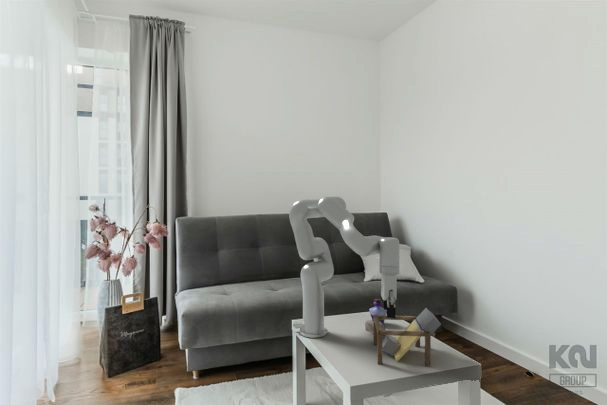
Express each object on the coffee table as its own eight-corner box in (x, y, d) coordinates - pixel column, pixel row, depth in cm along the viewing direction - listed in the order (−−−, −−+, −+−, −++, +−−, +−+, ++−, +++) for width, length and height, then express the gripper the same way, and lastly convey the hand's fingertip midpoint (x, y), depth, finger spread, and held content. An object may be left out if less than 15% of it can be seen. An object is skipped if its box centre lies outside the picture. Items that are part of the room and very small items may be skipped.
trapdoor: (402, 366, 134) (395, 359, 134) (397, 350, 147) (390, 344, 148) (442, 325, 132) (434, 318, 132) (432, 313, 146) (425, 306, 146)
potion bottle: (375, 328, 168) (374, 302, 168) (365, 322, 176) (365, 297, 176) (390, 325, 171) (390, 300, 171) (380, 320, 179) (380, 295, 179)
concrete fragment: (377, 328, 169) (377, 315, 169) (390, 339, 155) (390, 325, 155) (363, 329, 168) (363, 316, 168) (374, 340, 154) (374, 326, 154)
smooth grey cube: (392, 356, 138) (381, 348, 139) (390, 351, 143) (380, 343, 144) (400, 346, 138) (389, 338, 138) (398, 340, 143) (387, 333, 143)
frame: (377, 364, 132) (377, 331, 132) (373, 343, 151) (373, 315, 150) (430, 366, 130) (430, 333, 130) (419, 345, 149) (419, 316, 149)
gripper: (377, 265, 149) (377, 306, 150) (382, 274, 132) (382, 320, 132) (395, 265, 149) (395, 307, 149) (403, 274, 131) (403, 321, 132)
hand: (389, 313), depth 141 cm, fingers open, 9 cm apart
